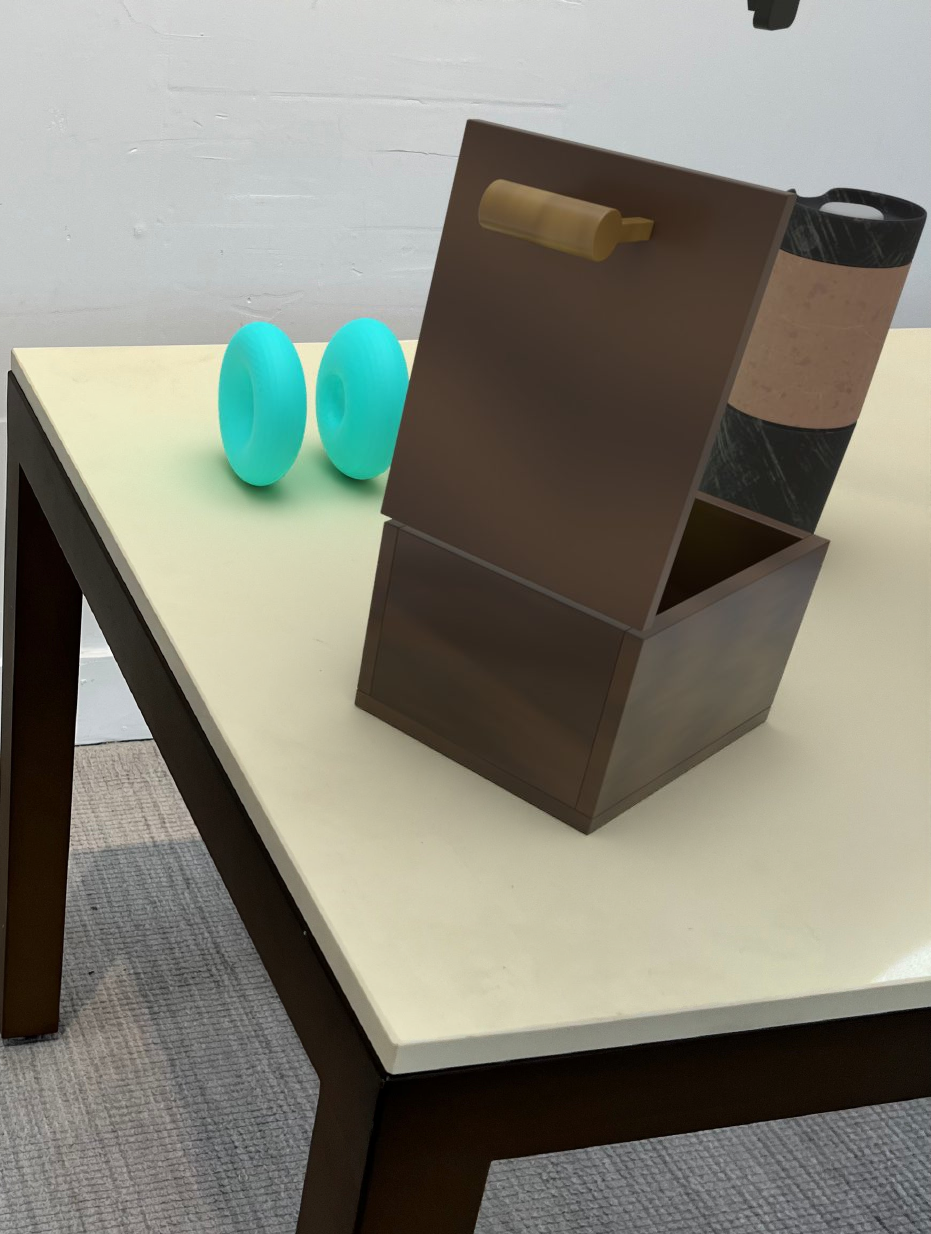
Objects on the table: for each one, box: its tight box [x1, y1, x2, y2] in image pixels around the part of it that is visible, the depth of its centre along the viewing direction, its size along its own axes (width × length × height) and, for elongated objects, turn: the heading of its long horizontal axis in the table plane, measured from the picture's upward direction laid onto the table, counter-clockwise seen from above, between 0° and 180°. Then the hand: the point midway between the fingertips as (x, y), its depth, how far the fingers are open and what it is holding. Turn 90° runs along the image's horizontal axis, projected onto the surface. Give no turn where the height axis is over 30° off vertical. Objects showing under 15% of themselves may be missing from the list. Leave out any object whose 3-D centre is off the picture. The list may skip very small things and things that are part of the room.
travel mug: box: [698, 187, 928, 534], centre depth 86 cm, size 8×8×20 cm
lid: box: [380, 118, 798, 631], centre depth 58 cm, size 17×14×5 cm
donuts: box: [217, 317, 410, 487], centre depth 94 cm, size 10×10×10 cm
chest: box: [354, 491, 831, 835], centre depth 71 cm, size 16×14×10 cm
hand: (872, 42), depth 57 cm, fingers open, 8 cm apart
